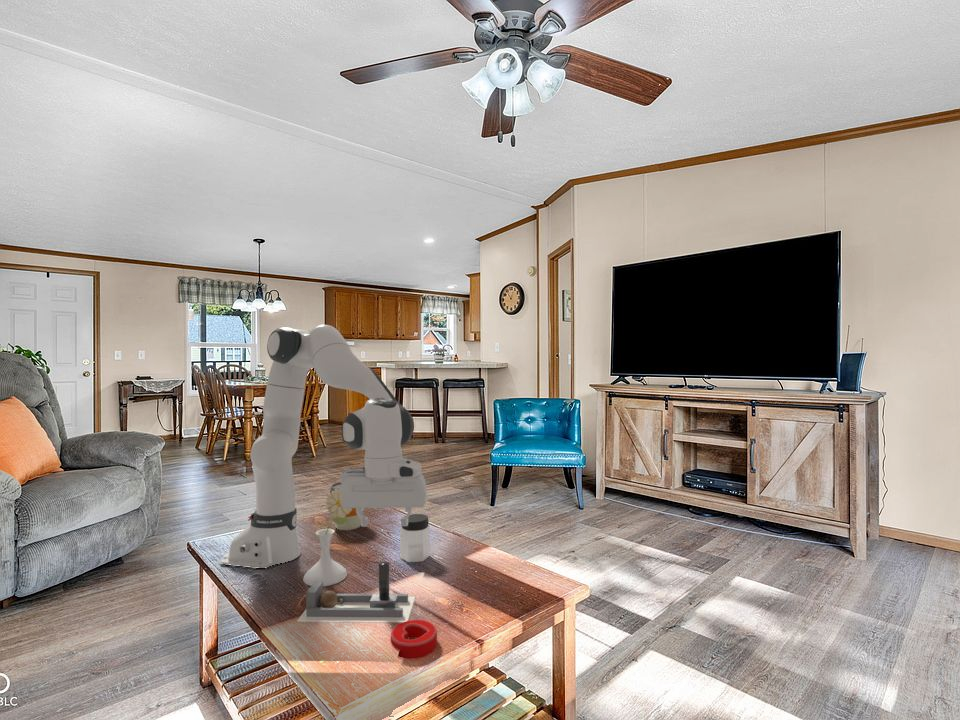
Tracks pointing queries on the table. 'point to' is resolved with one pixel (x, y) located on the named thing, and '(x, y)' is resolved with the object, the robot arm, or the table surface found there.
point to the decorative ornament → (418, 646)
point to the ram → (384, 590)
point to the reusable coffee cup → (352, 516)
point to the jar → (415, 539)
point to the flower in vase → (328, 546)
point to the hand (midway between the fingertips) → (384, 525)
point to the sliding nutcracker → (353, 608)
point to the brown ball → (328, 599)
